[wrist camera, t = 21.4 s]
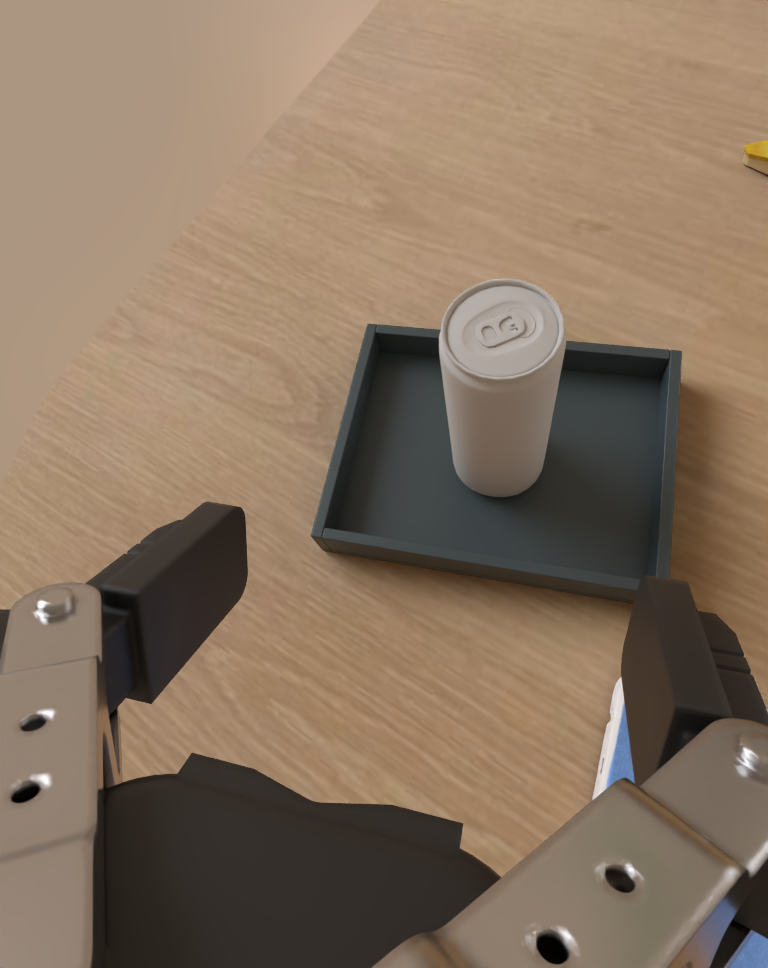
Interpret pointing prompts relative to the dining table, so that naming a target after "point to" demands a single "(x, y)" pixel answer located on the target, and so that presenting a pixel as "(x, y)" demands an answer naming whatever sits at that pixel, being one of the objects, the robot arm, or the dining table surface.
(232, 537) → the robot arm
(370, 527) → the serving tray
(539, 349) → the beverage can
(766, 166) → the pizza slice
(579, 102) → the dining table surface
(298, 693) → the dining table surface
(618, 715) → the tablet
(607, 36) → the dining table surface
